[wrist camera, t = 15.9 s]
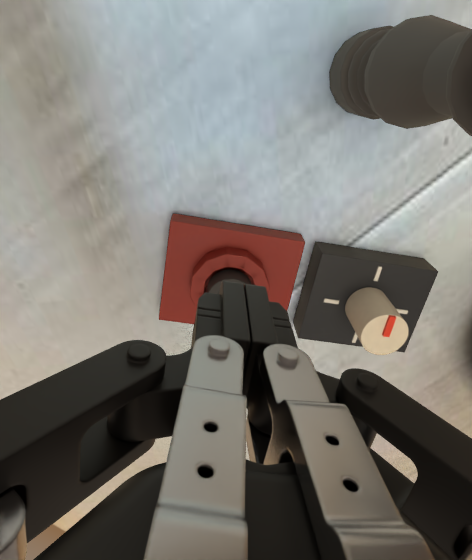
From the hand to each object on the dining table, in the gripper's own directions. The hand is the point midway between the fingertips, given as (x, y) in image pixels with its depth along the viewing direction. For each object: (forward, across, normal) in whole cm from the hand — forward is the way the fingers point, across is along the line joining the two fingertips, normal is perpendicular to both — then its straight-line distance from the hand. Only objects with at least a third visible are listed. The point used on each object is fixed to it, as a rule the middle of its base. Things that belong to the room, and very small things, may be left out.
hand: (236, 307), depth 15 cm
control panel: (+25, -15, +10) cm, 31 cm away
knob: (+22, -15, +10) cm, 28 cm away
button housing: (+25, -2, +10) cm, 27 cm away
